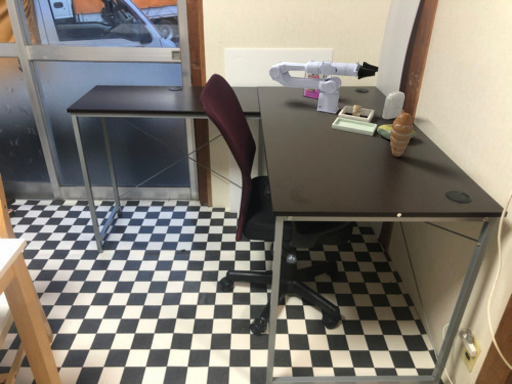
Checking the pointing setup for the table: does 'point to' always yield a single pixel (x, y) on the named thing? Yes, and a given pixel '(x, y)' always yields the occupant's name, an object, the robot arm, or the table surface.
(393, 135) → the tan ribbed oblong piece
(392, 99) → the photo printer
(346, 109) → the square open frame
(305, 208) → the table surface
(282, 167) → the table surface
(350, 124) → the tray
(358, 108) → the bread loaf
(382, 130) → the cell model
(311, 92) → the candy bar box
